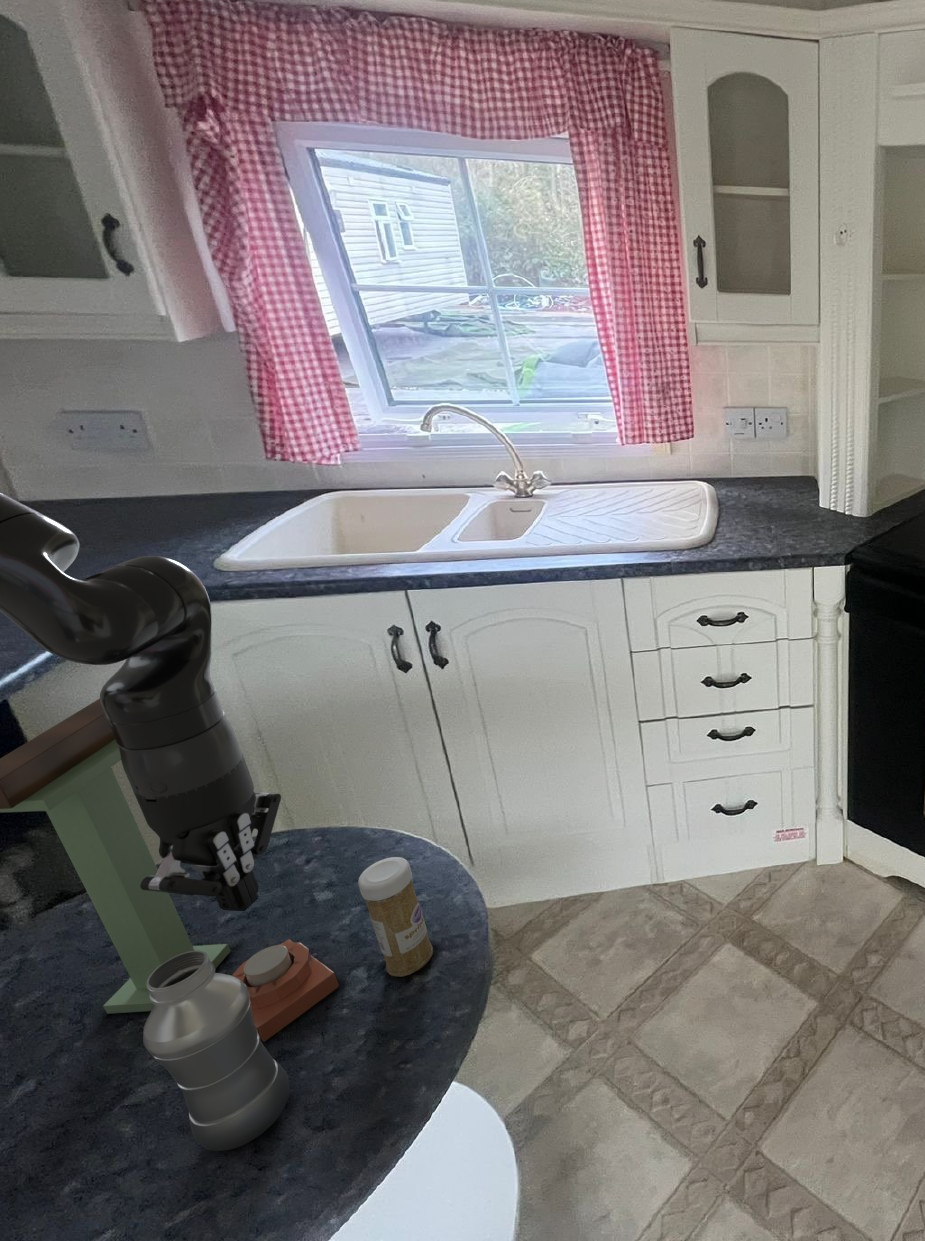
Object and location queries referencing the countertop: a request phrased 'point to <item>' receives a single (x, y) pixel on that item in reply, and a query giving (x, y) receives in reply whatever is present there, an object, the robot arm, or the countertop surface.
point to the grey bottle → (213, 1051)
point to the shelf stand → (116, 872)
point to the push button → (267, 965)
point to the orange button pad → (289, 991)
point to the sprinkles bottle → (396, 915)
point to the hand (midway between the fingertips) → (242, 905)
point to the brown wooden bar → (52, 754)
